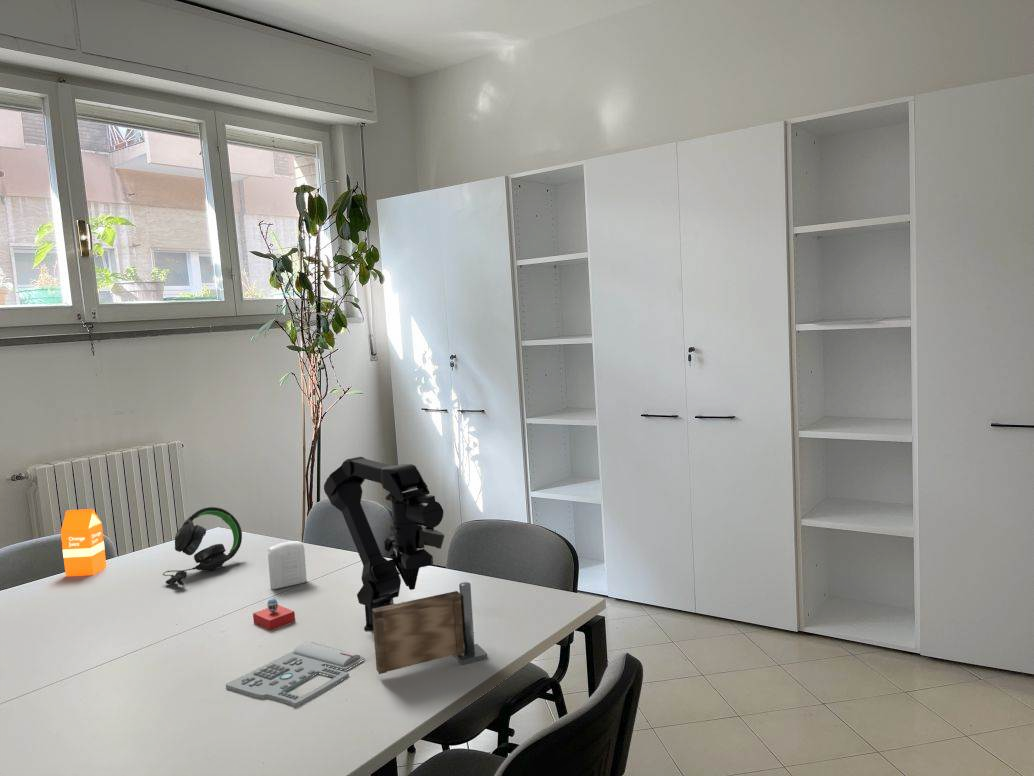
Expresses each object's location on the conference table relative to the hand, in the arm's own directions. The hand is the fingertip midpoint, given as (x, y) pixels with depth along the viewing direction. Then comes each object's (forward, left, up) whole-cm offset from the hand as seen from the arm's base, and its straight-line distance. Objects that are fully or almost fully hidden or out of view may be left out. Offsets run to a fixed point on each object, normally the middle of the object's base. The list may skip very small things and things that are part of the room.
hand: (410, 587), depth 175 cm
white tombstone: (-45, +38, -12) cm, 60 cm away
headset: (-76, +51, -12) cm, 92 cm away
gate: (+5, -15, -11) cm, 19 cm away
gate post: (+14, -10, -12) cm, 21 cm away
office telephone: (-20, -17, -13) cm, 29 cm away
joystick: (-38, +11, -12) cm, 42 cm away
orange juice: (-118, +55, -12) cm, 130 cm away
